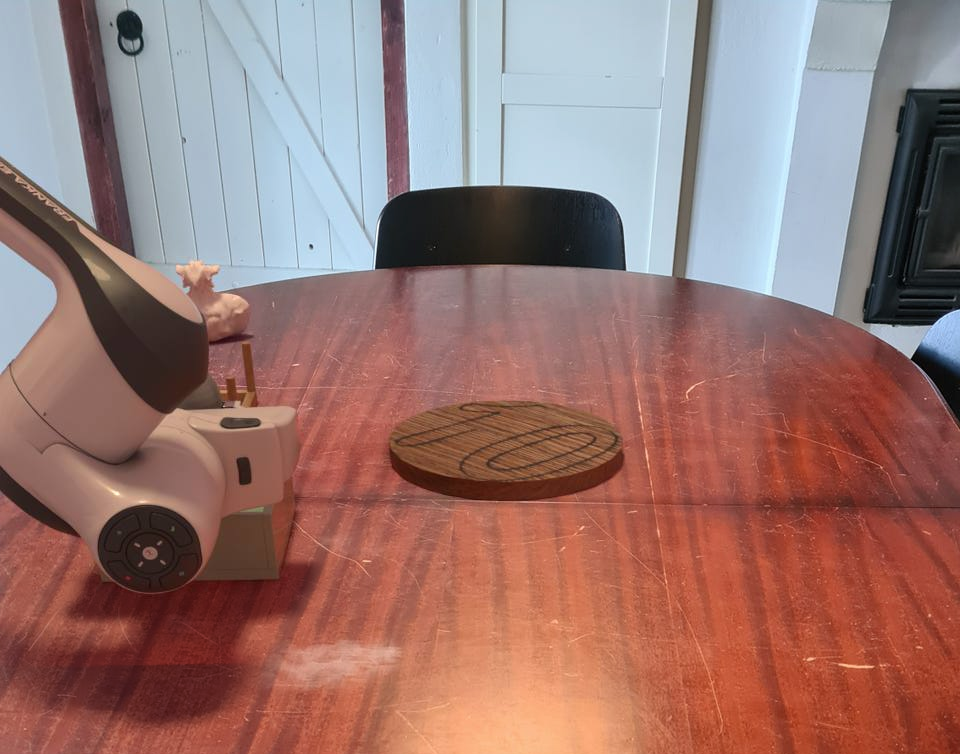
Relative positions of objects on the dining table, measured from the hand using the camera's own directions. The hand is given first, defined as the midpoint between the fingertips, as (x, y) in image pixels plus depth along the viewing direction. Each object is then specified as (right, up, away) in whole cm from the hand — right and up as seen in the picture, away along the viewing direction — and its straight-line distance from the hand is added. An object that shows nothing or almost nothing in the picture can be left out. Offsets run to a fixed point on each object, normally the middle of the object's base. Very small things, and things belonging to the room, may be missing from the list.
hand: (184, 411), depth 108 cm
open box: (0, -10, +7) cm, 12 cm away
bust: (-11, +31, +60) cm, 69 cm away
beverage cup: (0, -9, +6) cm, 11 cm away
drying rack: (-8, +11, +33) cm, 36 cm away
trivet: (+29, +4, +25) cm, 38 cm away
